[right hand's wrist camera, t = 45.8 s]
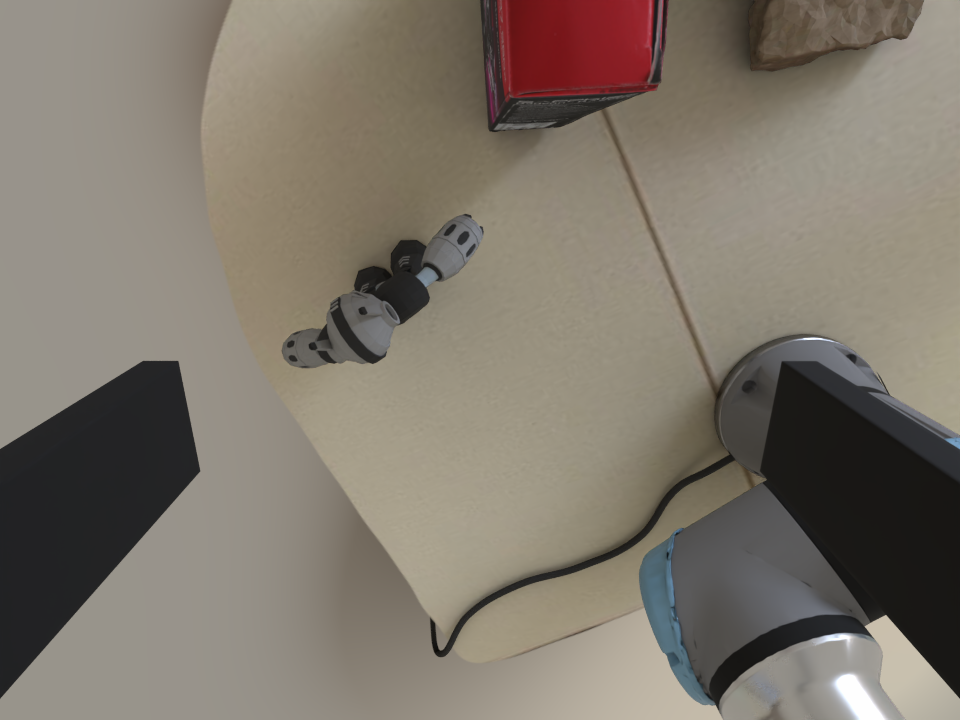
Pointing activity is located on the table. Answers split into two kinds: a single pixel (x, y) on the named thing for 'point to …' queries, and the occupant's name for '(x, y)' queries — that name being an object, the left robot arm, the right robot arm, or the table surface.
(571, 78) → the graphics card box
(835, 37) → the stone
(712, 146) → the table surface
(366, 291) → the robot
